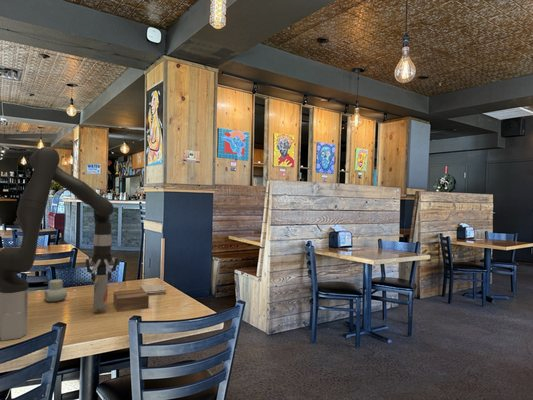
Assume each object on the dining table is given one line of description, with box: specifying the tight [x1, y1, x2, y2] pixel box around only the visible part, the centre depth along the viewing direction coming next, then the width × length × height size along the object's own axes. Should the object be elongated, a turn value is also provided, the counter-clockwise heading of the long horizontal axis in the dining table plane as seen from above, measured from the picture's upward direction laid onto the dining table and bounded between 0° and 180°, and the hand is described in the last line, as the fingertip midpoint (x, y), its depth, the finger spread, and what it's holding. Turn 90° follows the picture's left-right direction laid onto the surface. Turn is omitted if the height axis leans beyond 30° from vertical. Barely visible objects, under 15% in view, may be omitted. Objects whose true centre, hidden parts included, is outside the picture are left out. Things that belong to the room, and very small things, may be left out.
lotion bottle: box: [93, 265, 109, 310], centre depth 169 cm, size 6×6×20 cm
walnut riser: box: [113, 288, 150, 313], centre depth 180 cm, size 14×14×6 cm
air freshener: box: [43, 278, 68, 303], centre depth 185 cm, size 11×8×10 cm
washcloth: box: [139, 283, 167, 297], centre depth 209 cm, size 12×18×3 cm, turn 29°
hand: (101, 280), depth 170 cm, fingers closed on lotion bottle, 5 cm apart
